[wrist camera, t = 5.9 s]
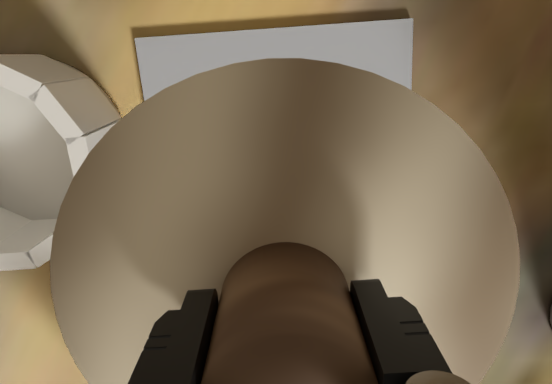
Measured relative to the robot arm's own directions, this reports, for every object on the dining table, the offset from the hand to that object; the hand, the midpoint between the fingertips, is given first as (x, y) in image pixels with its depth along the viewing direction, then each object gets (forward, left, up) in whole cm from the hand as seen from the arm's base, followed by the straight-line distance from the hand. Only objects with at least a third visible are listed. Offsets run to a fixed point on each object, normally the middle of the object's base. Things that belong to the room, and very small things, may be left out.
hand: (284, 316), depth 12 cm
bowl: (+15, -2, -17) cm, 23 cm away
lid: (0, 0, -2) cm, 2 cm away
